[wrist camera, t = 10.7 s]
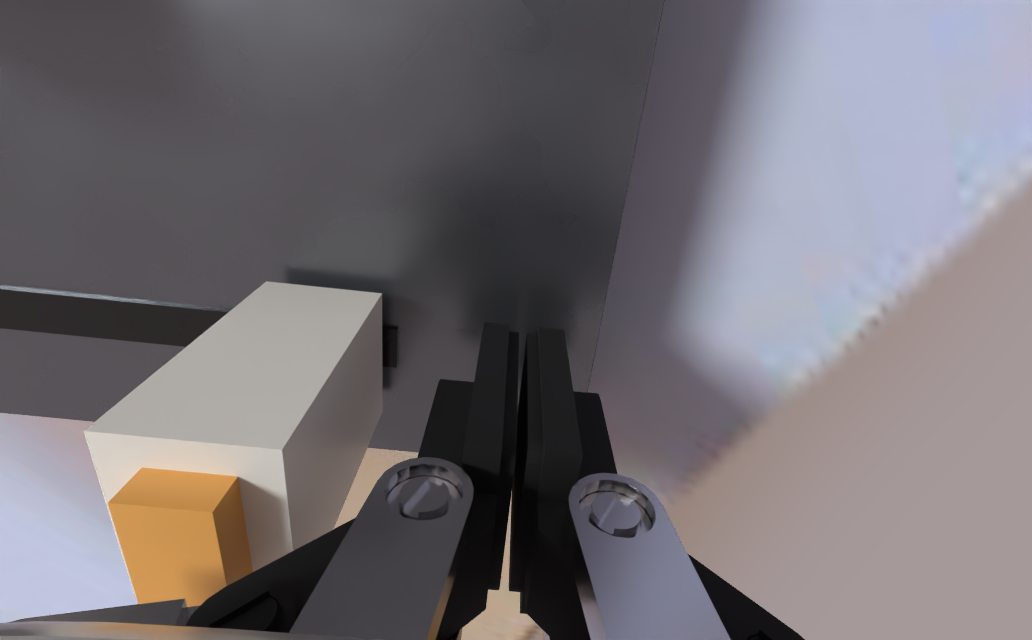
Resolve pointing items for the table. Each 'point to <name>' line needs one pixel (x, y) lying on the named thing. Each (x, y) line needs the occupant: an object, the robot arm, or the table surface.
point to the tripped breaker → (242, 440)
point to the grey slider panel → (308, 179)
